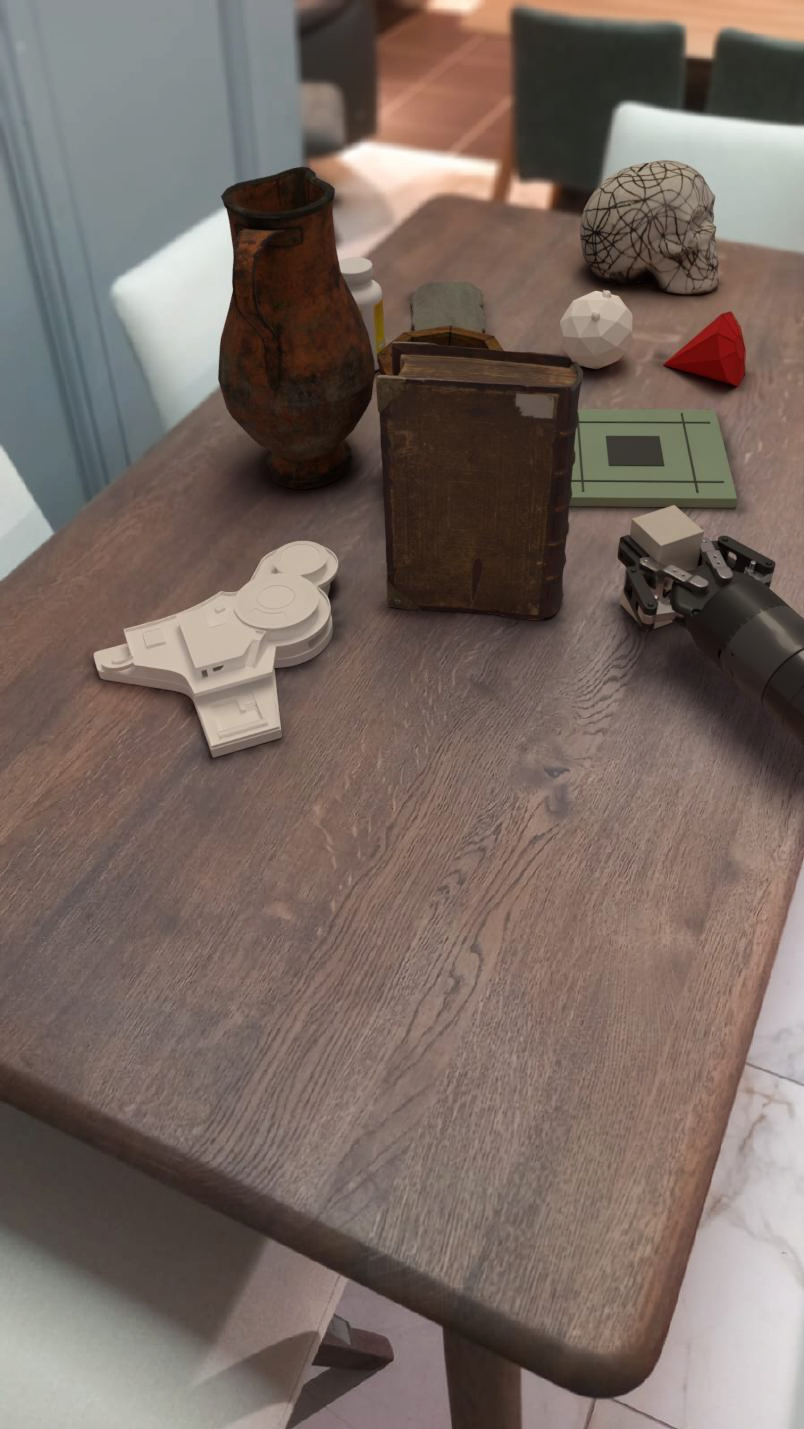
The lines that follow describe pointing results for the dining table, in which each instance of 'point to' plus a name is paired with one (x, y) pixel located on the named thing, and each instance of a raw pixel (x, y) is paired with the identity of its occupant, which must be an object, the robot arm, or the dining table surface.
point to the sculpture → (653, 228)
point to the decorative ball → (596, 329)
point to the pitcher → (292, 330)
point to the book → (477, 477)
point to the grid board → (650, 459)
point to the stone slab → (448, 306)
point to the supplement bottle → (366, 299)
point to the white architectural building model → (235, 646)
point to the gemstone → (714, 352)
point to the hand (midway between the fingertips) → (646, 536)
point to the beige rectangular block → (666, 543)
